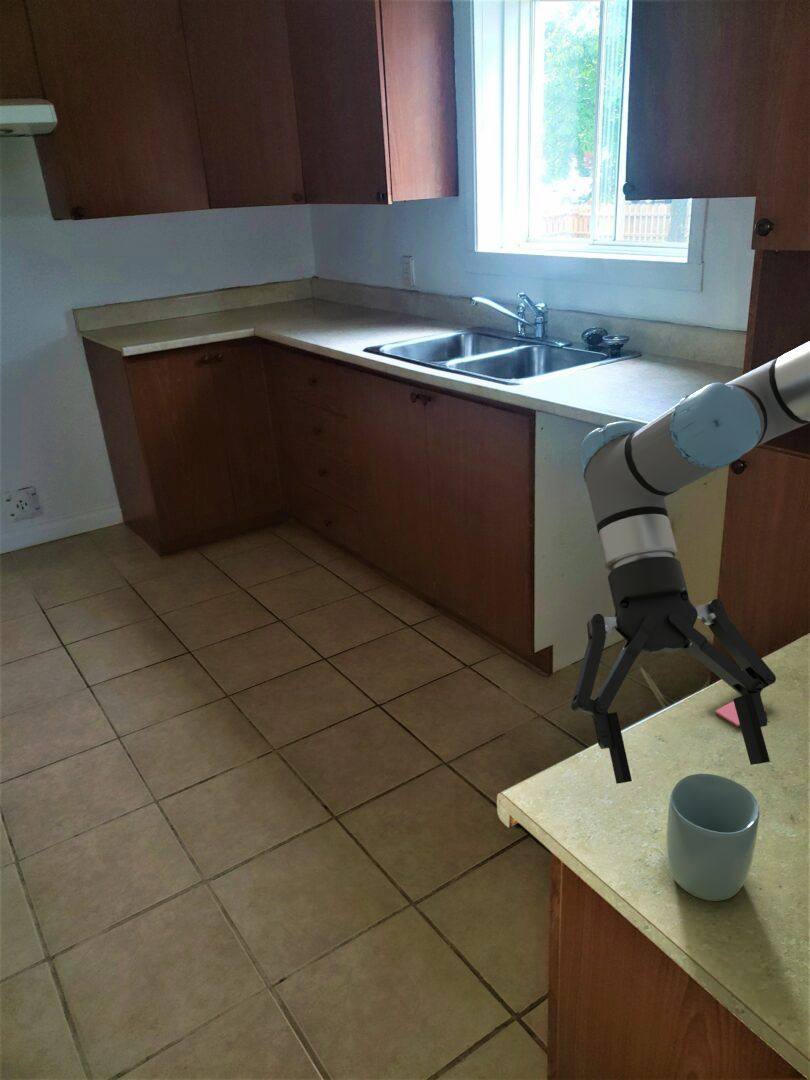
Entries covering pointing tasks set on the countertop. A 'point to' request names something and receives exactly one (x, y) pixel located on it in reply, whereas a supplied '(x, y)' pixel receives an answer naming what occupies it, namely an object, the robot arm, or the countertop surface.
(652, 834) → the countertop surface
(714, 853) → the cup
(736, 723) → the eraser
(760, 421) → the robot arm
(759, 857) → the countertop surface
